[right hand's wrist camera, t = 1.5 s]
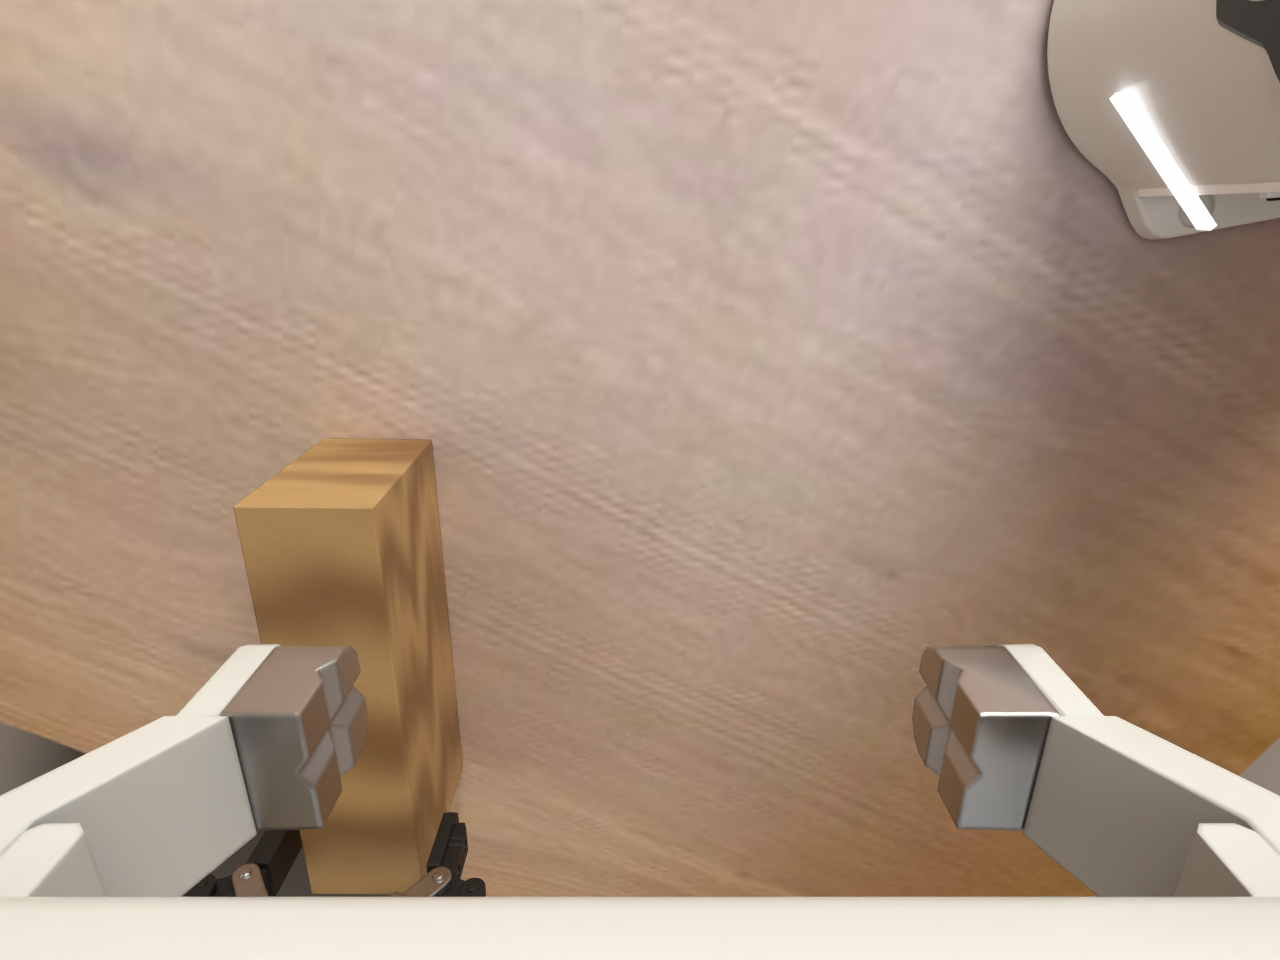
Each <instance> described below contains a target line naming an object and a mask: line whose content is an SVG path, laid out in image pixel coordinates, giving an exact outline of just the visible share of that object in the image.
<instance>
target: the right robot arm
mask: <svg viewBox="0 0 1280 960" xmlns="http://www.w3.org/2000/svg"><path fill="white" fill-rule="evenodd" d="M1047 63H1048V75H1049V83H1050V88H1051V93H1052V97H1053V101H1054V105H1055V108H1056V110H1057V113H1058V116H1059V118H1060V121H1061V123H1062V125H1063V127H1064V129H1065V131H1066V132H1067V134H1068V136H1069V138H1070V139H1071V141H1072V142H1073V143H1074V145H1075V146H1076V147H1077V149H1078V150H1079V151H1080V152H1081V154H1082V155H1083V156H1084V157H1085V158H1086V159H1087V160H1088V161H1089V162H1090V163H1092V164H1093V165H1094V166H1095V167H1096V168H1097V169H1098V170H1100V171H1101V172H1102V173H1103V174H1104V175H1105V176H1106V177H1107V178H1108V179H1109V180H1110V181H1111V182H1112V183H1113V184H1114V186H1115V187H1116V188H1117V189H1118V192H1119V195H1120V198H1121V201H1122V204H1123V206H1124V209H1125V212H1126V214H1127V217H1128V219H1129V221H1130V223H1131V225H1132V227H1133V228H1134V230H1135V231H1136V232H1137V233H1138V234H1139V235H1140V236H1141V237H1143V238H1146V239H1151V240H1155V239H1166V238H1174V237H1179V236H1184V235H1190V234H1195V233H1201V232H1206V231H1211V230H1217V229H1222V228H1228V227H1233V226H1238V225H1244V224H1249V223H1255V222H1260V221H1265V220H1271V219H1276V218H1280V0H1054V2H1053V7H1052V12H1051V17H1050V23H1049V31H1048V42H1047ZM1184 211H1185V213H1186V214H1187V216H1186V215H1185V213H1184ZM360 672H361V670H360V665H359V660H358V655H357V652H356V651H355V650H354V649H353V648H352V647H351V646H330V645H279V644H249V645H245V646H241V647H239V648H238V649H237V650H236V651H235V652H234V653H233V654H232V655H231V656H230V658H229V659H228V660H227V661H226V662H225V663H224V664H223V665H222V666H221V667H220V668H219V670H218V671H217V672H216V673H215V674H214V675H213V676H212V677H211V678H210V679H209V680H208V682H207V683H206V684H205V685H204V686H203V687H202V688H201V689H200V690H199V691H198V692H197V694H196V695H195V696H194V697H193V698H192V699H191V700H190V701H189V702H188V703H187V704H186V706H185V707H184V708H183V709H182V710H181V711H180V712H179V713H178V714H177V715H176V716H163V717H161V718H159V719H157V720H155V721H153V722H151V723H149V724H147V725H145V726H143V727H141V728H139V729H137V730H135V731H132V732H130V733H128V734H126V735H124V736H122V737H120V738H118V739H116V740H114V741H112V742H110V743H108V744H106V745H104V746H102V747H100V748H97V749H95V750H93V751H91V752H89V753H87V754H85V755H83V756H81V757H79V758H77V759H75V760H73V761H71V762H69V763H67V764H65V765H63V766H60V767H58V768H56V769H54V770H52V771H50V772H48V773H46V774H44V775H42V776H40V777H38V778H36V779H34V780H32V781H30V782H28V783H25V784H23V785H21V786H19V787H17V788H15V789H13V790H11V791H9V792H7V793H5V794H3V795H1V796H0V960H1280V796H1279V795H1277V794H1275V793H1273V792H1271V791H1269V790H1266V789H1264V788H1262V787H1260V786H1258V785H1256V784H1254V783H1252V782H1250V781H1248V780H1246V779H1244V778H1242V777H1240V776H1238V775H1236V774H1234V773H1232V772H1230V771H1227V770H1225V769H1223V768H1221V767H1219V766H1217V765H1215V764H1213V763H1211V762H1209V761H1207V760H1205V759H1203V758H1201V757H1199V756H1197V755H1195V754H1193V753H1191V752H1188V751H1186V750H1184V749H1182V748H1180V747H1178V746H1176V745H1174V744H1172V743H1170V742H1168V741H1166V740H1164V739H1162V738H1160V737H1158V736H1156V735H1154V734H1152V733H1149V732H1147V731H1145V730H1143V729H1141V728H1139V727H1137V726H1135V725H1133V724H1131V723H1129V722H1127V721H1125V720H1123V719H1121V718H1119V717H1117V716H1104V715H1103V714H1102V713H1101V712H1100V711H1099V710H1098V709H1097V708H1096V707H1095V706H1094V704H1093V703H1092V702H1091V701H1090V700H1089V699H1088V698H1087V697H1086V696H1085V695H1084V694H1083V692H1082V691H1081V690H1080V689H1079V688H1078V687H1077V686H1076V685H1075V684H1074V683H1073V682H1072V680H1071V679H1070V678H1069V677H1068V676H1067V675H1066V674H1065V673H1064V672H1063V671H1062V669H1061V668H1060V667H1059V666H1058V665H1057V664H1056V663H1055V662H1054V661H1053V660H1052V659H1051V657H1050V656H1049V655H1048V654H1047V653H1046V652H1045V651H1044V650H1043V649H1042V648H1041V647H1039V646H1036V645H1034V644H1014V645H997V646H952V647H926V649H925V651H924V653H923V655H922V658H921V664H920V670H919V672H920V674H921V676H922V678H923V679H924V681H925V683H926V684H927V686H926V687H925V688H924V689H923V690H922V691H921V692H920V693H919V694H918V695H917V696H916V697H915V701H914V709H913V717H912V720H913V731H914V739H915V742H916V746H917V749H918V752H919V754H920V756H921V758H922V760H923V763H924V765H925V766H926V767H928V768H929V769H931V770H932V771H933V772H935V773H936V774H938V775H939V776H940V778H939V784H938V792H939V794H940V796H941V798H942V800H943V802H944V804H945V806H946V808H947V810H948V811H949V813H950V815H951V817H952V819H953V821H954V823H955V825H956V827H957V829H976V830H1012V831H1023V834H1024V835H1025V836H1026V837H1027V838H1029V839H1030V840H1031V841H1032V842H1033V843H1035V844H1036V845H1037V846H1038V847H1039V848H1041V849H1042V850H1043V851H1044V852H1045V853H1047V854H1048V855H1049V856H1050V857H1051V858H1053V859H1054V860H1055V861H1056V862H1058V863H1059V864H1060V865H1061V866H1062V867H1064V868H1065V869H1066V870H1067V871H1068V872H1070V873H1071V874H1072V875H1073V876H1074V877H1076V878H1077V879H1078V880H1079V881H1080V882H1082V883H1083V884H1084V885H1085V886H1087V887H1088V888H1089V889H1090V890H1091V891H1093V892H1094V893H1095V894H1096V895H1097V896H1099V897H182V896H183V895H184V894H185V893H186V892H188V891H189V890H190V889H191V888H192V887H194V886H195V885H196V884H197V883H199V882H200V881H201V880H202V879H203V878H205V877H206V876H207V875H208V874H209V873H211V872H212V871H213V870H214V869H215V868H217V867H218V866H219V865H220V864H222V863H223V862H224V861H225V860H226V859H227V858H229V857H230V856H231V855H232V854H234V853H235V852H236V851H237V850H238V849H240V848H241V847H242V846H243V845H245V844H246V843H247V842H248V841H249V840H251V839H252V838H253V837H254V836H255V835H257V832H256V831H268V830H303V829H323V827H324V825H325V823H326V821H327V819H328V817H329V815H330V814H331V812H332V810H333V808H334V806H335V804H336V802H337V800H338V798H339V796H340V794H341V792H342V784H341V778H340V776H341V775H342V774H344V773H345V772H347V771H348V770H349V769H351V768H352V767H354V766H355V765H356V762H357V760H358V758H359V756H360V754H361V752H362V750H363V746H364V741H365V737H366V732H367V707H366V700H365V697H364V696H363V695H362V694H361V693H360V692H359V691H358V690H357V689H356V688H355V687H354V686H353V684H354V683H355V681H356V679H357V678H358V676H359V674H360Z"/></svg>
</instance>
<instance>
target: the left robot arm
mask: <svg viewBox="0 0 1280 960" xmlns="http://www.w3.org/2000/svg"><path fill="white" fill-rule="evenodd" d="M302 846H303V845H302V840H301V835H300V831H299V830H268V831H265V833H264V835H263V837H262V838H261V839H260V841H259V844H257V846H256V848H255V849H254V851H253V853H252V854H251V856H250V858H249V859H248V861H247V863H246V864H245V865H243V866H241V867H240V868H238V869H237V870H236V871H235V872H234V873H233V875H231V876H229V877H225V878H221V879H217V880H216V879H215V876H213V875H211V874H208V875H207V876H206V877H205V878H203V879H202V880H201V881H200V882H199V883H197V884H196V885H195V886H194V887H192V888H191V889H190V890H189V891H188V892H186V893H185V894H184V895H183V896H182V897H269V896H276V895H277V893H278V891H279V889H280V887H281V885H282V883H283V881H284V880H285V878H286V876H287V874H288V872H289V870H290V868H291V867H292V865H293V863H294V861H295V859H296V857H297V855H298V853H299V852H300V850H301V848H302ZM467 852H468V845H467V833H466V827H465V823H459V818H458V813H451V812H444V814H443V816H442V819H441V822H440V825H439V828H438V832H437V835H436V838H435V841H434V844H433V847H432V850H431V853H430V856H429V859H428V862H427V865H426V867H427V874H426V875H425V876H424V877H422V878H421V879H420V880H419V881H417V882H416V883H415V884H414V885H413V886H411V887H410V888H409V889H408V890H406V891H405V892H403V893H400V892H398V891H397V892H394V893H392V894H391V895H390V896H388V897H485V896H486V888H485V883H484V881H483V880H481V879H479V878H471V879H468V880H466V881H464V880H461V879H460V878H461V874H462V870H463V867H464V863H465V858H466V856H467Z"/></svg>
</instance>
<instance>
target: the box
mask: <svg viewBox="0 0 1280 960" xmlns="http://www.w3.org/2000/svg"><path fill="white" fill-rule="evenodd" d="M234 513H235V518H236V523H237V527H238V532H239V537H240V542H241V547H242V552H243V557H244V562H245V567H246V571H247V576H248V581H249V586H250V591H251V596H252V601H253V606H254V611H255V615H256V620H257V625H258V630H259V635H260V640H261V644H279V645H330V646H351V647H352V648H353V649H354V650H355V651H356V652H357V655H358V660H359V665H360V670H361V672H360V674H359V676H358V678H357V679H356V681H355V683H354V684H353V686H354V687H355V688H356V689H357V690H358V691H359V692H360V693H361V694H362V695H363V696H364V697H365V700H366V707H367V732H366V737H365V741H364V746H363V750H362V752H361V754H360V756H359V758H358V760H357V762H356V765H355V766H354V767H352V768H351V769H349V770H348V771H347V772H345V773H344V774H342V775H341V776H340V778H341V784H342V792H341V794H340V796H339V798H338V800H337V802H336V804H335V806H334V808H333V810H332V812H331V814H330V815H329V817H328V819H327V821H326V823H325V825H324V827H323V829H303V830H299V831H300V835H301V840H302V845H303V850H304V855H305V860H306V865H307V870H308V875H309V879H310V884H311V889H312V893H313V894H392V893H394V892H397V891H398V892H400V893H403V892H405V891H406V890H408V889H409V888H410V887H411V886H413V885H414V884H415V883H416V882H417V881H419V880H420V879H421V878H422V877H424V876H425V875H426V874H427V867H426V865H427V862H428V859H429V856H430V853H431V850H432V847H433V844H434V841H435V838H436V835H437V832H438V828H439V825H440V822H441V819H442V816H443V814H444V812H448V811H449V808H450V805H451V802H452V799H453V795H454V792H455V789H456V786H457V783H458V779H459V776H460V773H461V770H462V766H463V765H462V755H461V744H460V734H459V723H458V712H457V702H456V691H455V681H454V670H453V660H452V649H451V639H450V628H449V618H448V607H447V596H446V586H445V575H444V565H443V554H442V544H441V533H440V523H439V512H438V502H437V491H436V481H435V470H434V459H433V449H432V441H431V440H396V439H323V440H321V441H320V442H319V443H317V444H316V445H315V446H313V447H312V448H311V449H309V450H308V451H307V452H305V453H304V454H303V455H301V456H300V457H299V458H297V459H296V460H295V461H293V462H292V463H291V464H289V465H288V466H287V467H285V468H284V469H283V470H281V471H280V472H279V473H277V474H276V475H275V476H273V477H272V478H271V479H269V480H268V481H267V482H265V483H264V484H263V485H261V486H260V487H259V488H257V489H256V490H255V491H253V492H252V493H251V494H249V495H248V496H247V497H245V498H244V499H243V500H241V501H240V502H239V503H237V504H236V505H235V506H234Z"/></svg>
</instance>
